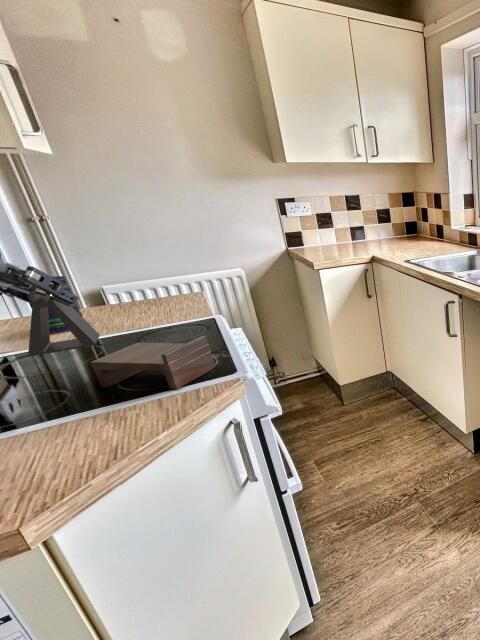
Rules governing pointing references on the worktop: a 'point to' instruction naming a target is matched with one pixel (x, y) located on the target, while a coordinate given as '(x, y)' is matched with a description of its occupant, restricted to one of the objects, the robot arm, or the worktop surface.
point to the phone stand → (71, 320)
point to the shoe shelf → (157, 362)
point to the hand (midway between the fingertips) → (58, 301)
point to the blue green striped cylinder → (54, 321)
